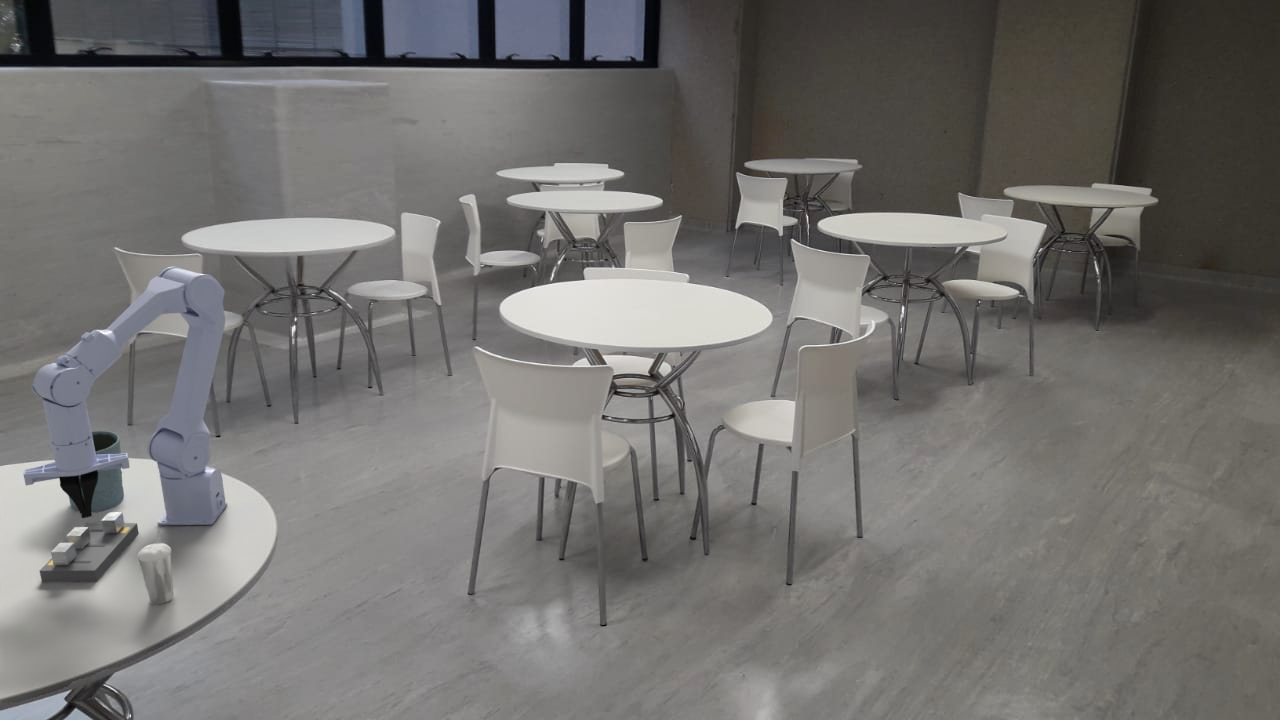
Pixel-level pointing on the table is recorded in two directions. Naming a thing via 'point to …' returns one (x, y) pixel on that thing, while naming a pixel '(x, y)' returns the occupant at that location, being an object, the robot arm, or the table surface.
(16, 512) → the table surface
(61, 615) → the table surface
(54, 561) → the knob
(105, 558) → the switch panel
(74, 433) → the robot arm
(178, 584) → the table surface
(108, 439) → the teal plant pot
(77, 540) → the knob
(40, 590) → the table surface
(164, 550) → the milkshake
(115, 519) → the knob
